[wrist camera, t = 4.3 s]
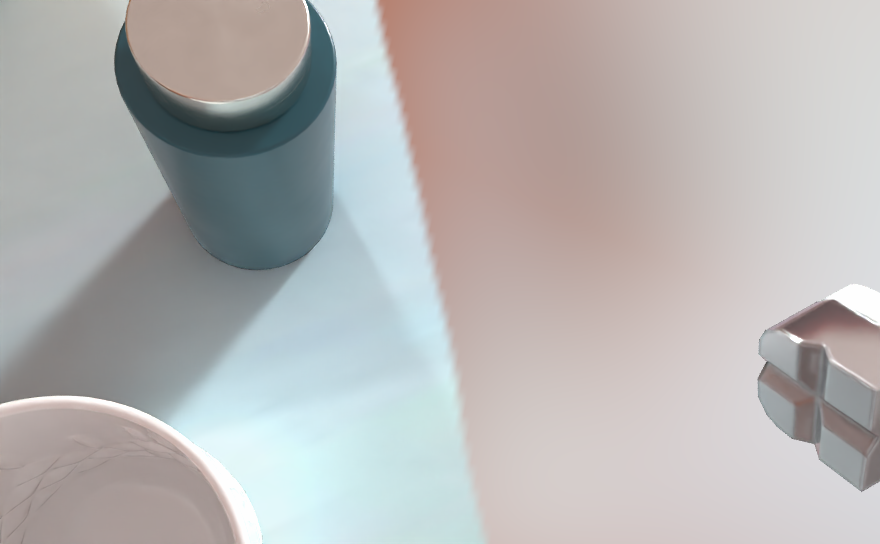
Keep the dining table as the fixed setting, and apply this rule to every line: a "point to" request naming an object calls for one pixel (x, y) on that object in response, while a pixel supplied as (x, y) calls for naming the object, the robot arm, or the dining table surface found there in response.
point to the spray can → (236, 119)
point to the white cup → (111, 479)
